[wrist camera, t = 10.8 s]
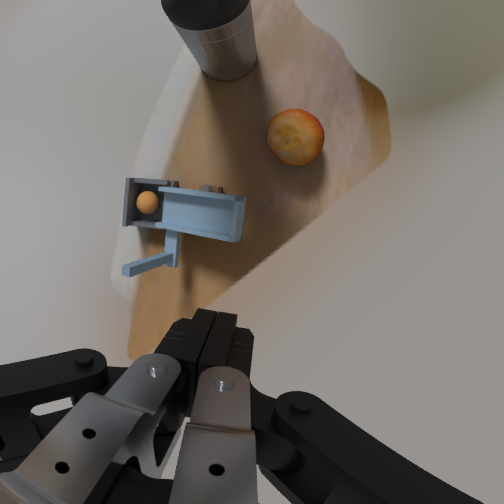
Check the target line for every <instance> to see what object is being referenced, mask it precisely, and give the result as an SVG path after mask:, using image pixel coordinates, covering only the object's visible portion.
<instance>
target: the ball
mask: <svg viewBox="0 0 504 504" xmlns="http://www.w3.org/2000/svg"><path fill="white" fill-rule="evenodd" d="M136 204H137V208H138V209H139V211H141V212H142V213H144V214H150V213H153V212H154V211H155V210H156V209H157V207H158V204H159V200H158V197H157V196H156V194H154V193H153V192H150V191H145V192H143V193H141V194H140V195H139V196H138V198H137V202H136Z"/></svg>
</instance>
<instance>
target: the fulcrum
mask: <svg viewBox="0 0 504 504" xmlns="http://www.w3.org/2000/svg"><path fill="white" fill-rule="evenodd" d="M222 188H223V187H214V186H210V185H204V186H200V189H199V190H200V191H208V192H215V193H222ZM198 237H200V238H205V237H203V236H198Z"/></svg>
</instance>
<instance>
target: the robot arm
mask: <svg viewBox="0 0 504 504" xmlns="http://www.w3.org/2000/svg"><path fill="white" fill-rule="evenodd" d="M161 4H162V7H163V10H164V11H165V13H166V15H167V16H168V18H169V19H170V21H171V22H172V24H173V25H174V27H175V28H176V30H177V31H178V33H179V34H180V36H181V37H182V39H183V40H184V42H185V44H186V45H187V47H188V48H189V50H190V51H191V53H192V54H193V56H194V58H195V59H196V61H197V62H198V64H199V65H200V67H201V69H202V70H203V72H204V73H205V74H206V75H207V76H209V77H211V78H213V79H215V80H220V81H231V80H236V79H238V78H241V77H243V76H244V75H246V74H247V73H248V72H249V71H250V70H251V69H252V68H253V66H254V64H255V62H256V58H257V53H256V42H255V33H254V25H253V16H252V8H251V1H250V0H161ZM236 323H237V314H231V313H225V312H218V314H217V311H212V310H206V309H200V308H198V309H197V311H196V313H195V314H194V316H193V318H192V320H191V319H186V318H182V319H180V320H178V321H176V322H174V323H173V324H172V326H171V327H170V329H169V331H168V332H167V333H166V335H165V337H164V338H163V339H162V341H161V342H160V344H159V345H158V347H157V349H156V350H155V352H154V353H153V354H146V355H143V356H140V357H139V358H137V359H136V360H135V361H134V362H133V364H132V365H131V366H130V367H125V368H124V367H110V366H107V361H106V358H105V356H104V355H103V354H102V353H100V352H98V351H96V350H92V349H76V350H72V351H68V352H63V353H59V354H54V355H49V356H45V357H40V358H35V359H30V360H26V361H21V362H15V363H10V364H5V365H0V504H258V494H257V469H256V464H257V465H259V469H260V471H261V473H262V474H263V475H264V476H265V477H266V478H267V479H268V480H269V481H270V482H271V483H272V484H273V485H274V486H275V487H276V489H277V490H278V491H280V493H281V494H282V495H283V496H285V497H286V498H287V499H288V500H289V501H290V502H291V503H292V504H483V503H482V502H480V501H479V500H476V499H475V498H473V497H471V496H469V495H467V494H465V493H463V492H461V491H460V490H458V489H456V488H454V487H452V486H451V485H449V484H447V483H446V482H444V481H442V480H440V479H439V478H437V477H435V476H433V475H432V474H430V473H428V472H427V471H425V470H423V469H422V468H420V467H418V466H417V465H415V464H414V463H412V462H411V461H409V460H407V459H406V458H404V457H403V456H401V455H399V454H398V453H396V452H395V451H393V450H392V449H390V448H389V447H387V446H386V445H384V444H383V443H381V442H380V441H378V440H377V439H375V438H374V437H373V436H371V435H370V434H368V433H367V432H365V431H364V430H362V429H361V428H360V427H358V426H357V425H355V424H354V423H353V422H351V421H350V420H348V419H347V418H346V417H344V416H343V415H341V414H340V413H339V412H337V411H336V410H335V409H333V408H332V407H330V406H329V405H328V404H326V403H325V402H324V401H322V400H321V399H320V398H318V397H316V396H315V395H313V394H310V393H307V392H302V391H291V392H287V393H284V394H282V395H280V396H279V397H278V398H277V399H275V398H272V397H269V396H267V395H264V394H262V393H260V392H259V391H257V390H256V389H255V388H254V387H253V386H252V384H251V382H250V369H251V361H252V351H253V342H254V336H253V334H252V332H251V331H250V330H249V329H246V328H239V327H236ZM67 397H70V398H71V401H72V404H73V407H71V408H68V409H64V410H60V411H57V412H53V413H49V414H45V415H41V416H38V415H34V414H33V413H31V409H32V408H33V407H34V406H36V405H40V404H44V403H48V402H52V401H55V400H60V399H63V398H67ZM185 417H190V423H188V422H187V423H186V426H185V430H184V434H183V439H182V443H181V448H180V452H179V457H178V462H177V466H176V471H175V476H174V480H172V479H161V475H162V473H163V470H164V468H165V466H166V464H167V462H168V460H169V458H170V456H171V453H172V451H173V449H174V447H175V445H176V443H177V441H178V438H179V436H180V434H181V425H182V423H183V421H184V418H185Z"/></svg>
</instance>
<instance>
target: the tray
mask: <svg viewBox="0 0 504 504" xmlns="http://www.w3.org/2000/svg"><path fill="white" fill-rule="evenodd" d="M159 187H175V188H178V181H169V180H157V179H145V178H126V185H125V196H124V209H123V226H125V227H126V226H129V225H132V226H140V227H147V228H155V229H162V230H163V229H164V228H159V227H155V222H162V217H163V206H164V196H165V192H163V191H158V189H159ZM145 191H150V192H153V193H154V194H156V196H157V197H158V200H159V204H158V207H157V209H156V210H155V211H154V212H153V213H150V214H144V213H142V212H141V211H139V209H138V208H137V204H136V202H137V198H138V196H139V195H140V194H141V193H143V192H145Z"/></svg>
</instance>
